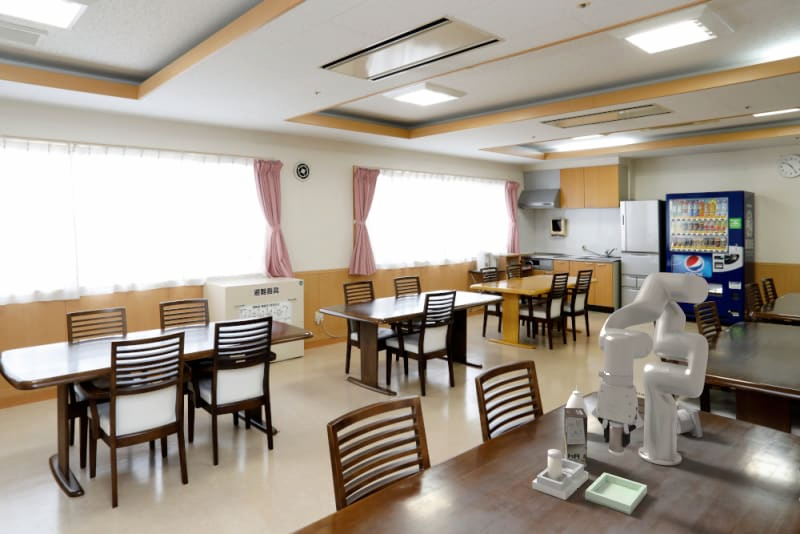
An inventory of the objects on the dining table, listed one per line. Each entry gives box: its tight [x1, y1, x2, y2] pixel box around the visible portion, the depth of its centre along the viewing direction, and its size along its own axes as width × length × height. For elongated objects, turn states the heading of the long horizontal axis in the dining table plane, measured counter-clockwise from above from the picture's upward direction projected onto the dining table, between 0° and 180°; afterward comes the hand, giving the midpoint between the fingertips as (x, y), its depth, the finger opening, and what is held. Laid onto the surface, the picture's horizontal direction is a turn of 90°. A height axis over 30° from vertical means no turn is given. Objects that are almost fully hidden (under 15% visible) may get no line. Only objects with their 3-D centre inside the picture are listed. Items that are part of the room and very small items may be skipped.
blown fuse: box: [608, 420, 625, 457], centre depth 142 cm, size 4×4×9 cm
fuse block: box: [531, 448, 589, 501], centre depth 151 cm, size 16×10×11 cm, turn 138°
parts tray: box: [584, 472, 648, 516], centre depth 143 cm, size 14×12×2 cm
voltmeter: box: [637, 392, 704, 439], centre depth 192 cm, size 27×11×10 cm, turn 37°
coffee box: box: [563, 407, 589, 468], centre depth 165 cm, size 9×6×16 cm
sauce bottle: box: [565, 384, 589, 418], centre depth 187 cm, size 8×8×18 cm
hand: (616, 442), depth 142 cm, fingers closed on blown fuse, 4 cm apart
